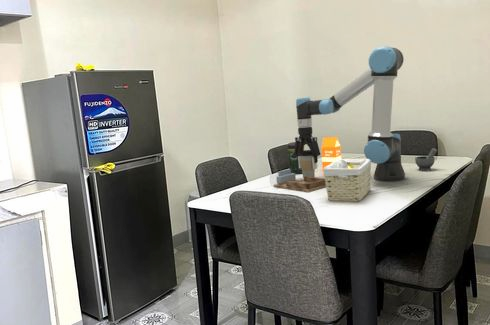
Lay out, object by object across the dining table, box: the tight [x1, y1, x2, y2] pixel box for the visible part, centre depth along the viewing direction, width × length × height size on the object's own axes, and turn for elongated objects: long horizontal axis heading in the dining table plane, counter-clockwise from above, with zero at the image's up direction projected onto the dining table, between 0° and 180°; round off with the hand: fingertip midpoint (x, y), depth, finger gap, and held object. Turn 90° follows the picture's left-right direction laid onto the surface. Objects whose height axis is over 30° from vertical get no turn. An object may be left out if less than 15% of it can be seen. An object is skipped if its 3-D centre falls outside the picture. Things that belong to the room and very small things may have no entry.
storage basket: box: [323, 158, 372, 202], centre depth 189 cm, size 24×16×15 cm
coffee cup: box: [298, 149, 316, 180], centre depth 229 cm, size 9×9×15 cm
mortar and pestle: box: [414, 147, 438, 172], centre depth 231 cm, size 11×9×12 cm
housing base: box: [273, 176, 326, 193], centre depth 216 cm, size 24×16×4 cm, turn 40°
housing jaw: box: [276, 168, 297, 184], centre depth 223 cm, size 3×11×6 cm, turn 130°
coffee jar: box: [287, 141, 305, 175], centre depth 253 cm, size 10×8×19 cm
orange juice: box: [320, 136, 342, 173], centre depth 252 cm, size 8×9×20 cm
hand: (308, 168), depth 230 cm, fingers closed on coffee cup, 9 cm apart
